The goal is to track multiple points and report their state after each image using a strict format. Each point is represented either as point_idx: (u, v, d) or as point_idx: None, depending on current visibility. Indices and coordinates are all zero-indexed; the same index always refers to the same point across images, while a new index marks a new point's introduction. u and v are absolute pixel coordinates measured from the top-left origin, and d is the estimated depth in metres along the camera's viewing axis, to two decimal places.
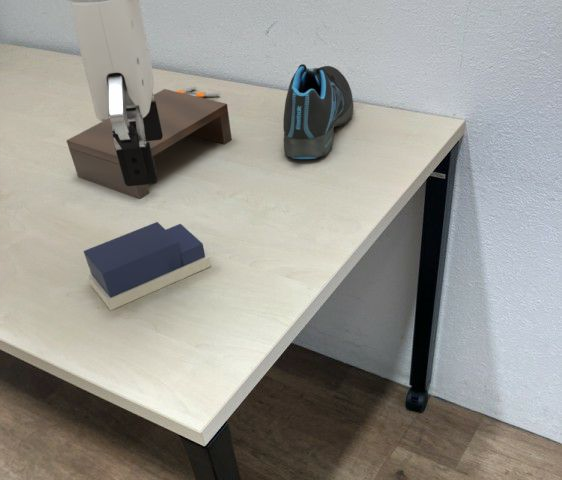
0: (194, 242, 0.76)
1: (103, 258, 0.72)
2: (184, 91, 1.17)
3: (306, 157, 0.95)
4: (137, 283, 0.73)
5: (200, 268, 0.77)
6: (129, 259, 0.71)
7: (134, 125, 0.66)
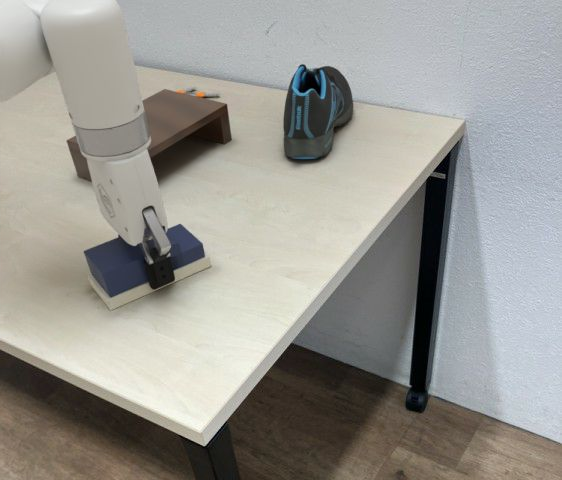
0: (194, 242, 0.76)
1: (103, 258, 0.72)
2: (184, 91, 1.17)
3: (306, 157, 0.95)
4: (137, 283, 0.73)
5: (200, 268, 0.77)
6: (129, 259, 0.71)
7: None
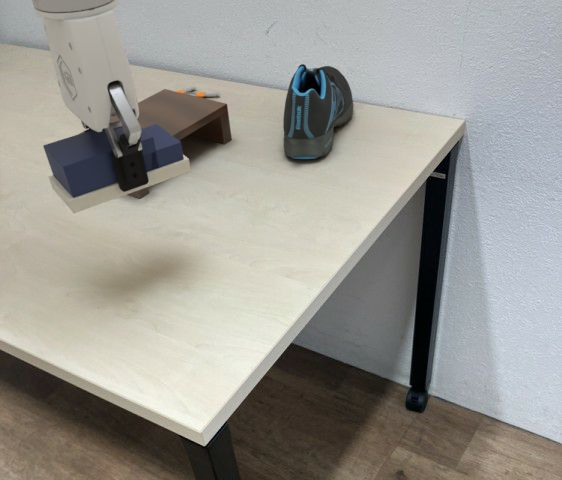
0: (171, 141, 0.66)
1: (65, 152, 0.62)
2: (184, 91, 1.17)
3: (306, 157, 0.95)
4: (104, 183, 0.64)
5: (178, 172, 0.68)
6: (95, 152, 0.62)
7: None
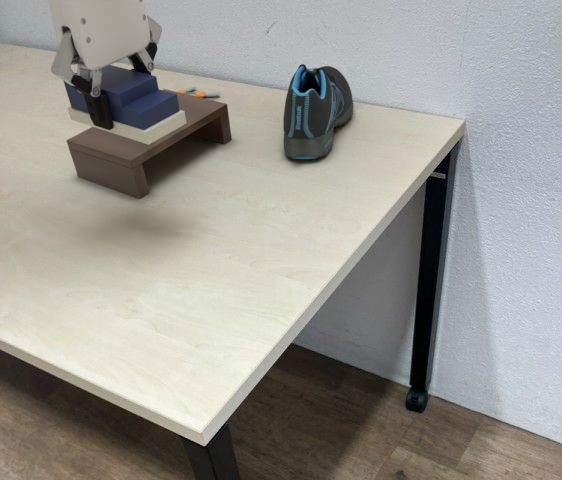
0: (141, 108, 0.69)
1: None
2: (184, 91, 1.17)
3: (306, 157, 0.95)
4: None
5: (138, 138, 0.71)
6: None
7: None
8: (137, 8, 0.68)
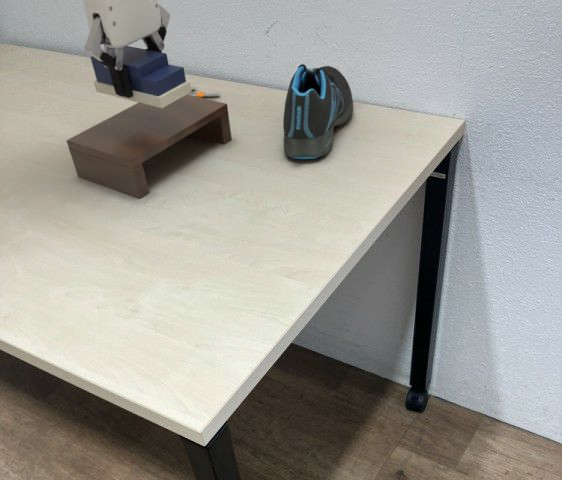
0: (156, 78, 0.86)
1: None
2: None
3: (306, 157, 0.95)
4: None
5: (153, 103, 0.88)
6: None
7: None
8: None
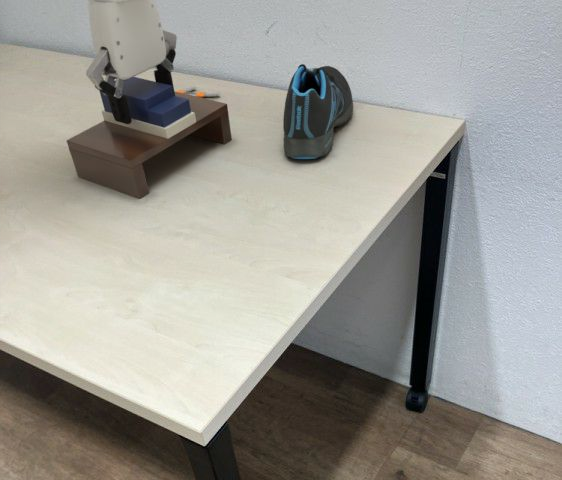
0: (162, 111, 0.89)
1: None
2: (184, 91, 1.17)
3: (306, 157, 0.95)
4: None
5: (159, 134, 0.91)
6: None
7: None
8: (157, 32, 0.88)
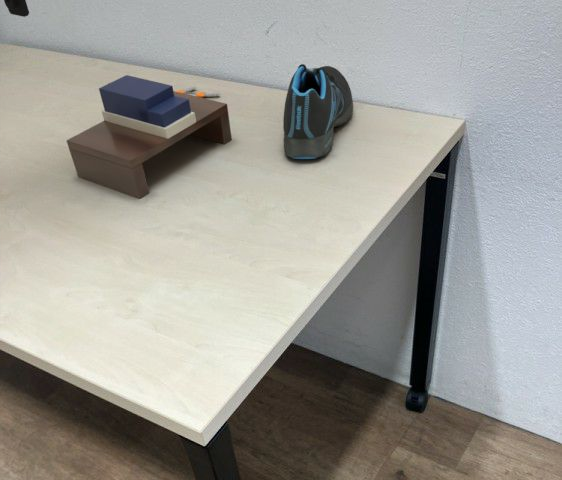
0: (162, 111, 0.89)
1: (117, 83, 0.94)
2: (184, 91, 1.17)
3: (306, 157, 0.95)
4: (120, 113, 0.94)
5: (159, 134, 0.91)
6: (118, 90, 0.92)
7: None
8: None
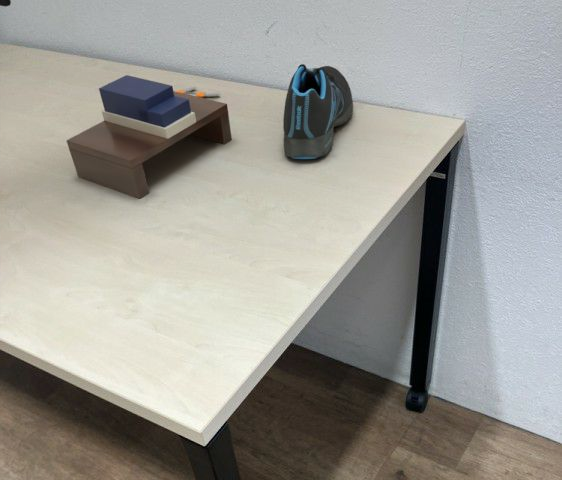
0: (162, 111, 0.89)
1: (117, 83, 0.94)
2: (184, 91, 1.17)
3: (306, 157, 0.95)
4: (120, 113, 0.94)
5: (159, 134, 0.91)
6: (118, 90, 0.92)
7: None
8: None
